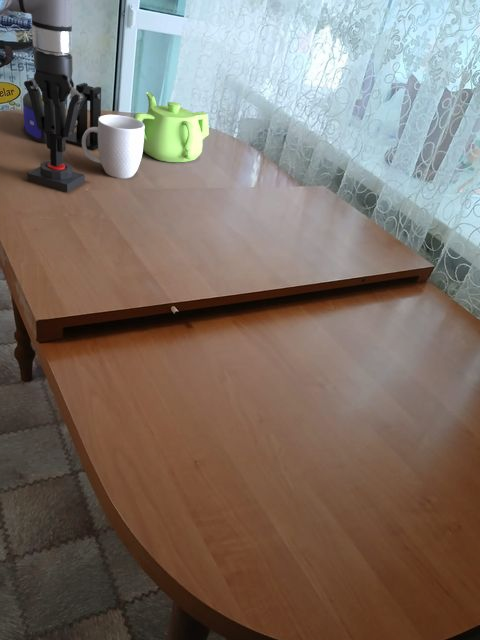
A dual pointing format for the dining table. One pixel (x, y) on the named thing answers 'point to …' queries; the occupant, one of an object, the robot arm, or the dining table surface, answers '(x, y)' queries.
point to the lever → (86, 98)
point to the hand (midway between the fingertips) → (56, 164)
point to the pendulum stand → (82, 119)
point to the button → (60, 167)
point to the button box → (56, 177)
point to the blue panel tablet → (32, 122)
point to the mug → (117, 144)
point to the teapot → (172, 131)
